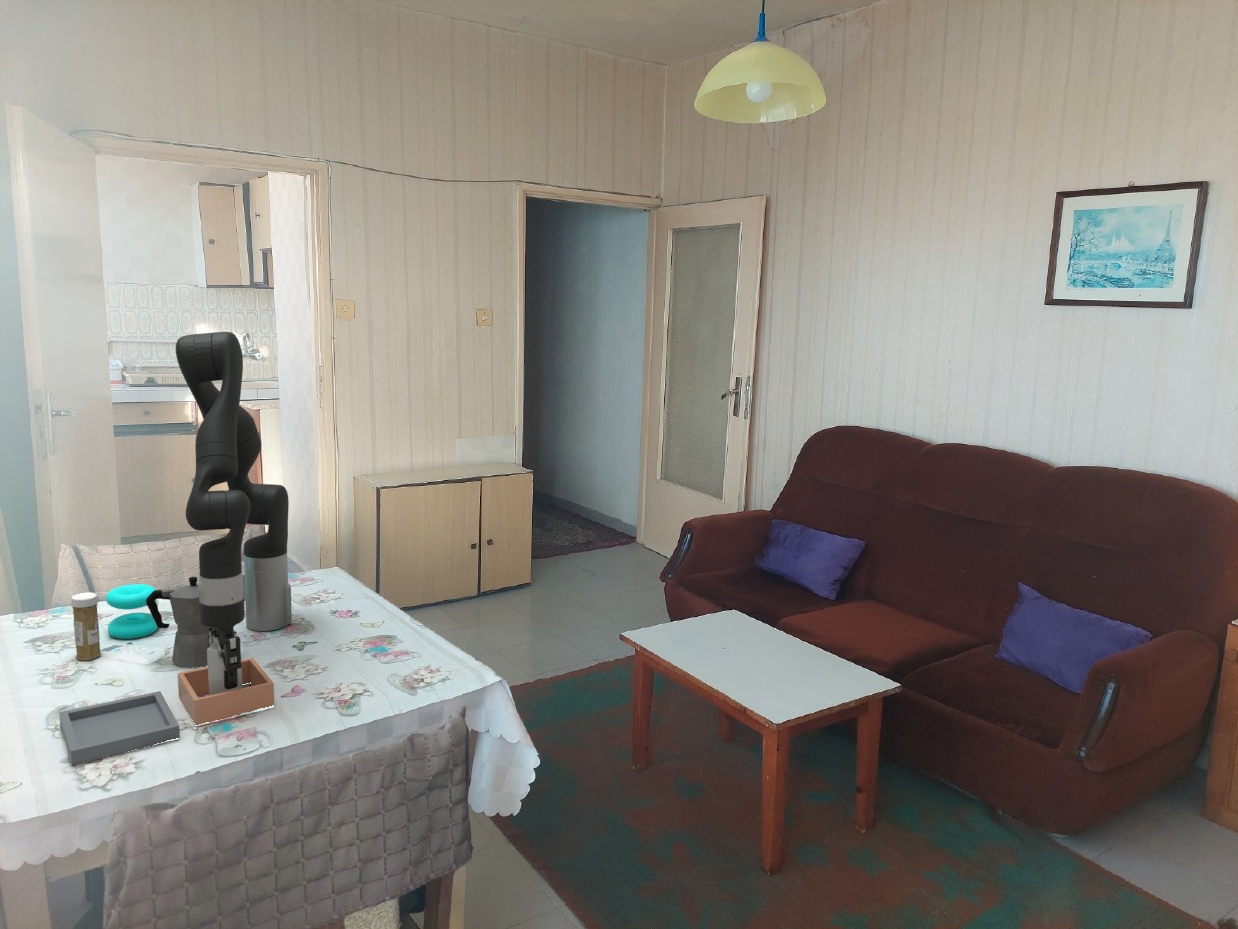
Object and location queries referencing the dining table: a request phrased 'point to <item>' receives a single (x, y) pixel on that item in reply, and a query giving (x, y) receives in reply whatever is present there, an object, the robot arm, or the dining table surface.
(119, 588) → the donuts
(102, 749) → the grey tray
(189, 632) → the coffeepot
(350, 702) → the dining table surface
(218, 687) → the skincare box
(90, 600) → the sprinkles bottle
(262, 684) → the orange square frame
